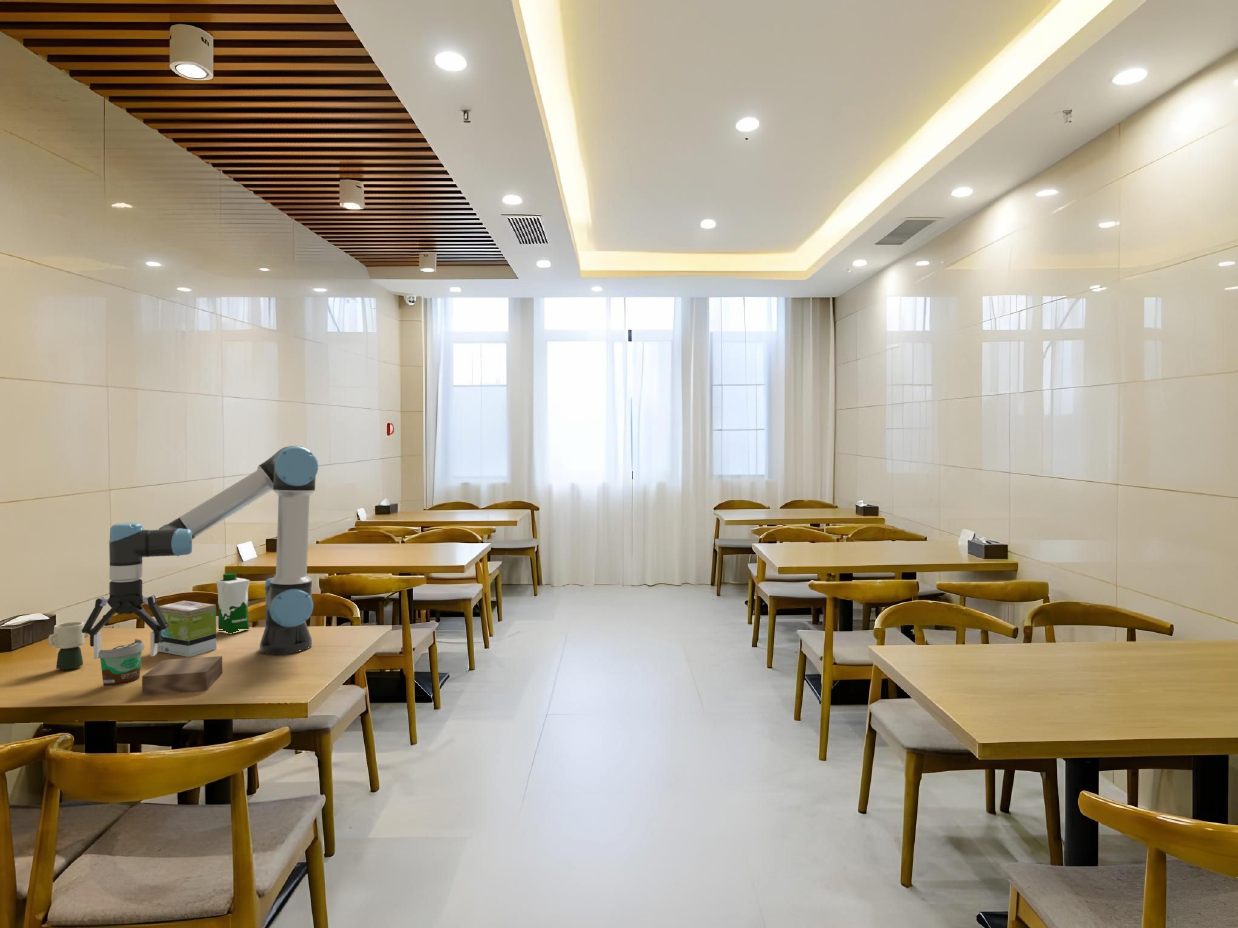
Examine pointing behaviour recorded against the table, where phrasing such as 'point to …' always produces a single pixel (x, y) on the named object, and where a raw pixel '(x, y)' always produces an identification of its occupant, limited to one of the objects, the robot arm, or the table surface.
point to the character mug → (68, 644)
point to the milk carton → (232, 603)
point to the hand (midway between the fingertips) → (125, 656)
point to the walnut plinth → (182, 675)
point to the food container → (121, 663)
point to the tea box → (188, 628)
